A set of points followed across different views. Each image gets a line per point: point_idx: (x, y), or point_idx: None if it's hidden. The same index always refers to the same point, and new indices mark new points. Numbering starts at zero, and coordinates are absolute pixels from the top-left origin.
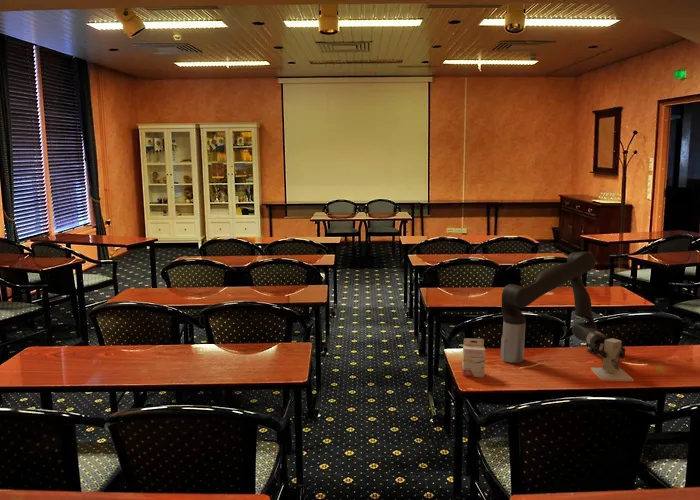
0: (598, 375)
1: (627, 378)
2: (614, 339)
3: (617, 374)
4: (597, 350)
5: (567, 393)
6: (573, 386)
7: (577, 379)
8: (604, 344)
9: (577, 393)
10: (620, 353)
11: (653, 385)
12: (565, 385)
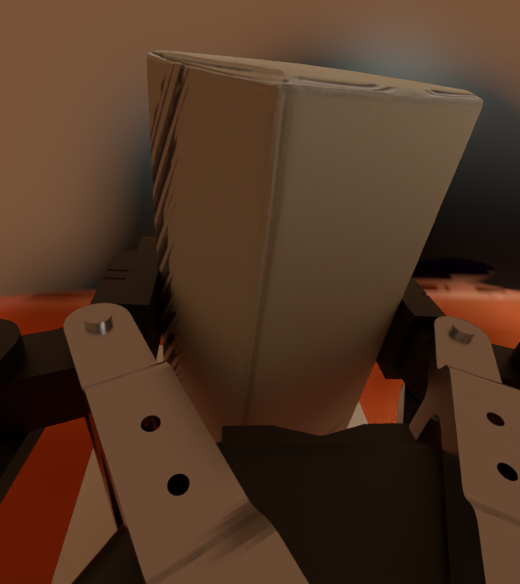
0: (359, 407)
1: (160, 355)
2: (278, 62)
3: None
4: (494, 345)
5: (470, 267)
6: (470, 306)
7: None
8: (440, 198)
9: (436, 266)
10: (162, 283)
11: (35, 310)
12: (507, 314)
